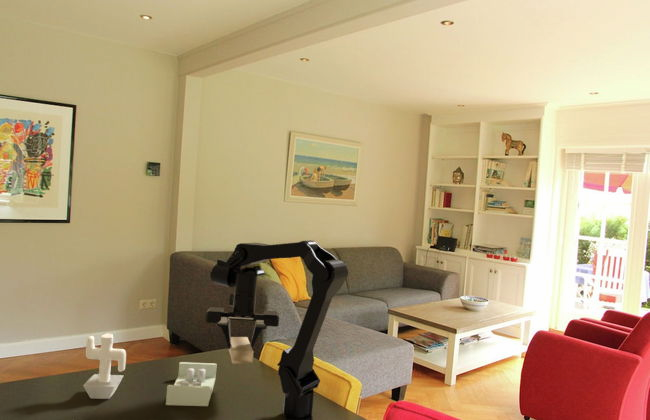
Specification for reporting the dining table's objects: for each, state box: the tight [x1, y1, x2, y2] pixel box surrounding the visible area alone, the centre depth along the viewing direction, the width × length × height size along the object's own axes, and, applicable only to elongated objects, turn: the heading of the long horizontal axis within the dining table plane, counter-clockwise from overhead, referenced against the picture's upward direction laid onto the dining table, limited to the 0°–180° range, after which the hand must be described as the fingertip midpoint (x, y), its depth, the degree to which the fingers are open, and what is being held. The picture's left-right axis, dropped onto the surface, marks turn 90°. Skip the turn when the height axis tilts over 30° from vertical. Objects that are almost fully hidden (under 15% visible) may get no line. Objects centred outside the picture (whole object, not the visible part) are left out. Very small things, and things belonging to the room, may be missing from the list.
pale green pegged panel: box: [165, 361, 217, 407], centre depth 124 cm, size 10×17×4 cm, turn 7°
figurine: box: [83, 332, 127, 400], centre depth 117 cm, size 7×9×15 cm
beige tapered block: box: [228, 336, 254, 364], centre depth 125 cm, size 5×12×3 cm, turn 17°
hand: (240, 349), depth 125 cm, fingers closed on beige tapered block, 5 cm apart
